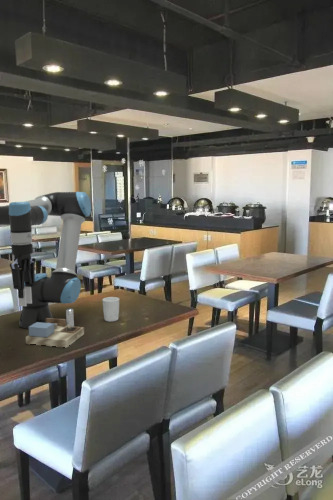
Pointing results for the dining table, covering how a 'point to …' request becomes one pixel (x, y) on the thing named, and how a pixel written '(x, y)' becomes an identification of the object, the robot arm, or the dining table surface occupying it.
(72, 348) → the dining table surface
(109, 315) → the white cup
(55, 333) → the base plate
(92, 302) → the dining table surface
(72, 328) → the pin
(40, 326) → the block
